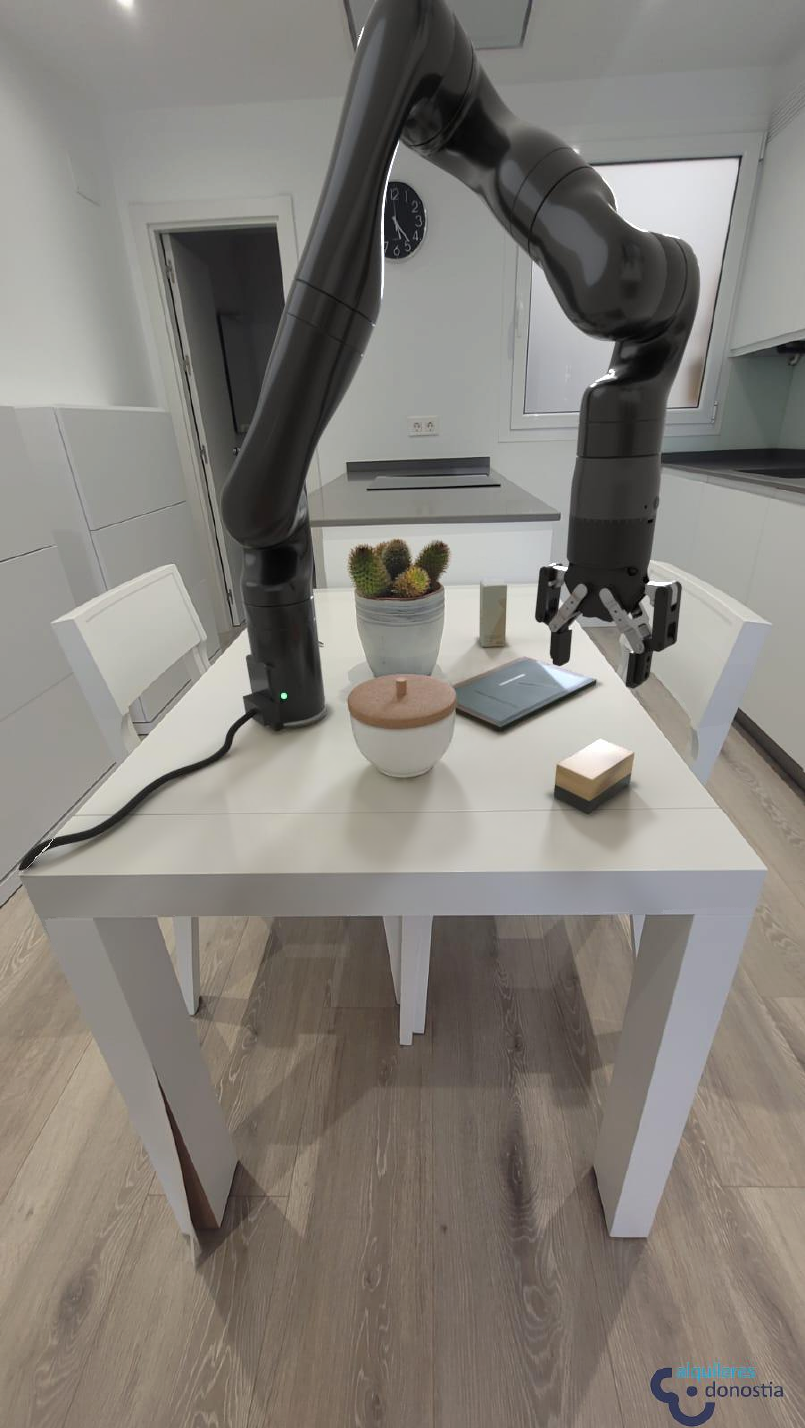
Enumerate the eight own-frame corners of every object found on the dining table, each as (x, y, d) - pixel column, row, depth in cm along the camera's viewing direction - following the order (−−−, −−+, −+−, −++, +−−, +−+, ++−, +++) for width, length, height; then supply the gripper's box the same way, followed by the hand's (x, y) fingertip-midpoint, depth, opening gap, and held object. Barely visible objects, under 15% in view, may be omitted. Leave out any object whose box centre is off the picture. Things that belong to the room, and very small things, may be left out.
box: (505, 646, 107) (507, 585, 102) (481, 647, 107) (482, 586, 102) (501, 637, 111) (503, 578, 106) (478, 637, 112) (479, 579, 107)
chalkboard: (500, 732, 78) (500, 726, 78) (428, 700, 88) (428, 695, 88) (596, 684, 91) (596, 679, 90) (524, 660, 100) (524, 656, 100)
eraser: (588, 814, 62) (592, 780, 60) (553, 796, 65) (556, 763, 63) (629, 784, 66) (635, 752, 64) (595, 769, 69) (599, 738, 67)
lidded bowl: (341, 749, 76) (333, 669, 71) (431, 729, 80) (430, 652, 75) (371, 801, 65) (364, 712, 60) (474, 776, 69) (476, 689, 64)
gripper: (523, 509, 57) (517, 667, 64) (667, 521, 47) (641, 706, 54) (570, 499, 61) (559, 648, 68) (711, 509, 51) (681, 682, 58)
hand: (596, 674), depth 61 cm, fingers open, 8 cm apart
